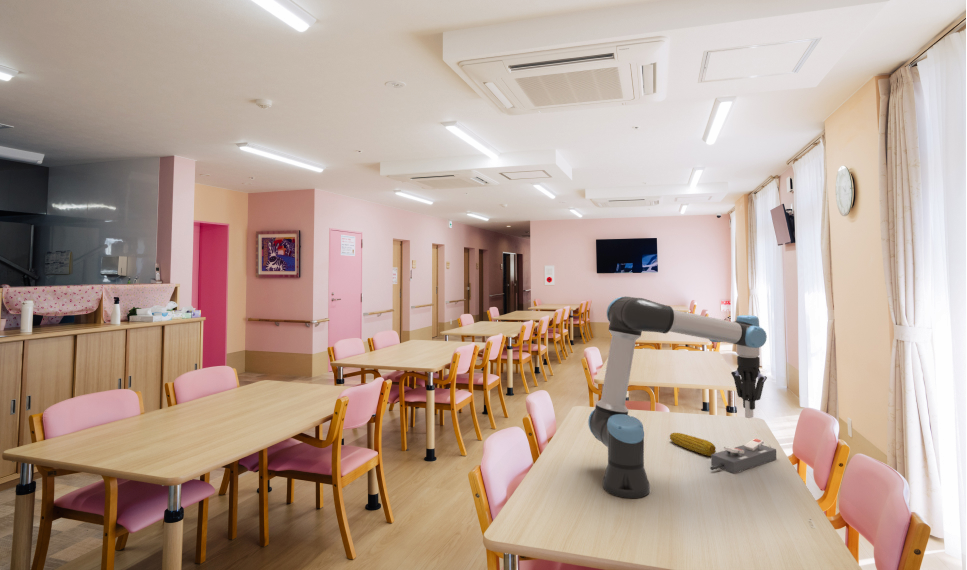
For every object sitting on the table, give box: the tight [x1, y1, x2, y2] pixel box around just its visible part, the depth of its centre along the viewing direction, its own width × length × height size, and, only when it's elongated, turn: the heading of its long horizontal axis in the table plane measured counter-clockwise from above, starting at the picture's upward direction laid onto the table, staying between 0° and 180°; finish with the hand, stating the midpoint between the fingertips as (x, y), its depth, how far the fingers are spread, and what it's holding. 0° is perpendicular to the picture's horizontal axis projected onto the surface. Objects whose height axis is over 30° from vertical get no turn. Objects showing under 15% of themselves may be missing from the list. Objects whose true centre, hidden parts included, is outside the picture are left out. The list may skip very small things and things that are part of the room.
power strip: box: [709, 443, 777, 474], centre depth 178 cm, size 32×9×5 cm, turn 118°
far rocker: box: [743, 438, 764, 451], centre depth 182 cm, size 7×4×1 cm, turn 118°
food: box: [669, 432, 717, 457], centre depth 194 cm, size 21×6×6 cm, turn 28°
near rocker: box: [723, 446, 744, 454], centre depth 177 cm, size 7×4×1 cm, turn 118°
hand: (749, 417), depth 181 cm, fingers closed
